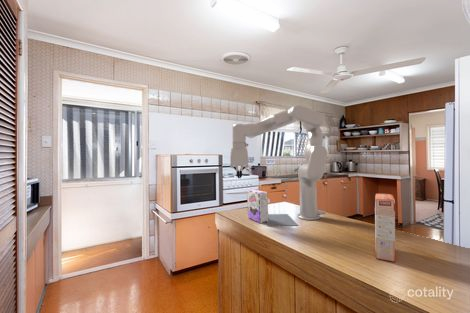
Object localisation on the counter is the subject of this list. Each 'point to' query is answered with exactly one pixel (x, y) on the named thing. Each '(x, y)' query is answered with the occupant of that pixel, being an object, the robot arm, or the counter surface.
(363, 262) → the counter surface
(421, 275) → the counter surface
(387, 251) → the cracker box
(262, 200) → the candy box
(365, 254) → the counter surface
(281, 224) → the mat
